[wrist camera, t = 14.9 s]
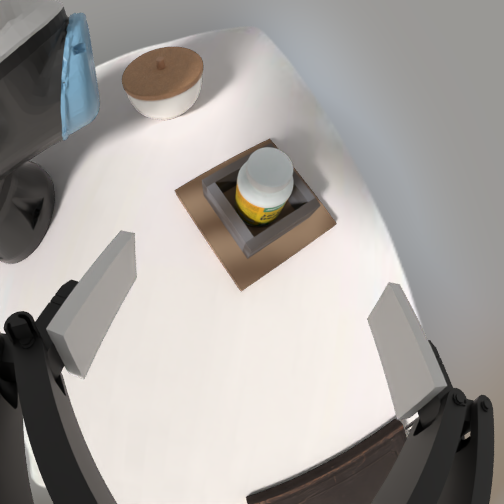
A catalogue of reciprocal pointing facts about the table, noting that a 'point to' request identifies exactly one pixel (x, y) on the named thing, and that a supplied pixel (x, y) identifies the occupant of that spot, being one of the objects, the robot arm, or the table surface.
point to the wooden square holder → (245, 236)
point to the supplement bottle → (263, 186)
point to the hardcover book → (343, 474)
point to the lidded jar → (164, 82)
